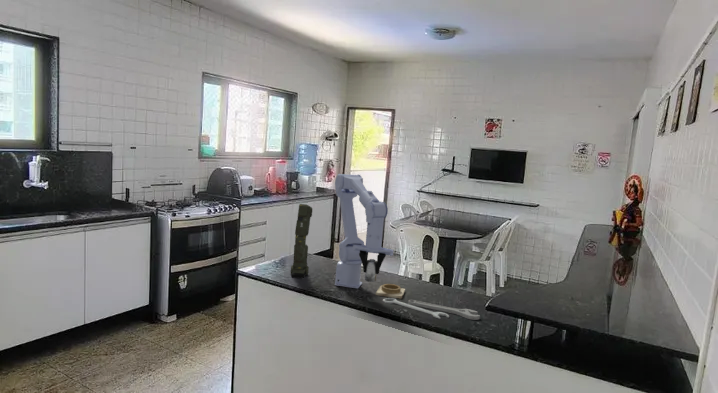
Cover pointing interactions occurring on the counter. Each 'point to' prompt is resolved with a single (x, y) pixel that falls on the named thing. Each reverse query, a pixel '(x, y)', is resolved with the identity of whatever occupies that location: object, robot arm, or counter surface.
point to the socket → (390, 291)
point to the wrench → (415, 308)
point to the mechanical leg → (301, 242)
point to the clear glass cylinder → (371, 270)
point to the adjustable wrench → (447, 309)
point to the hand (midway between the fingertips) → (371, 272)
